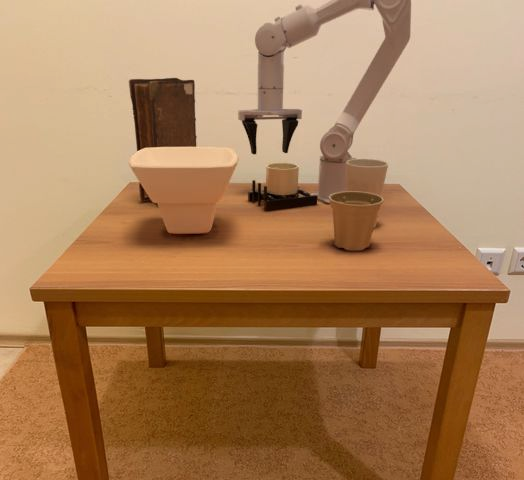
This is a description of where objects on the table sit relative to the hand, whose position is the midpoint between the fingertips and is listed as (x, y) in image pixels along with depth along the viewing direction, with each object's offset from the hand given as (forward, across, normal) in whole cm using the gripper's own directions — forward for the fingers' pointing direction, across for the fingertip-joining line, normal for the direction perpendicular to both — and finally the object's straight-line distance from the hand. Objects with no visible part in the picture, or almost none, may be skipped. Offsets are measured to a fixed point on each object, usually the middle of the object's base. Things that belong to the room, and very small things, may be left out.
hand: (269, 153), depth 120 cm
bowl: (+10, -23, -25) cm, 35 cm away
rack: (+9, 0, -9) cm, 13 cm away
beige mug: (+7, 0, -7) cm, 10 cm away
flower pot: (+10, +4, -40) cm, 41 cm away
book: (+10, -23, +2) cm, 25 cm away
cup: (+10, +11, -29) cm, 32 cm away
